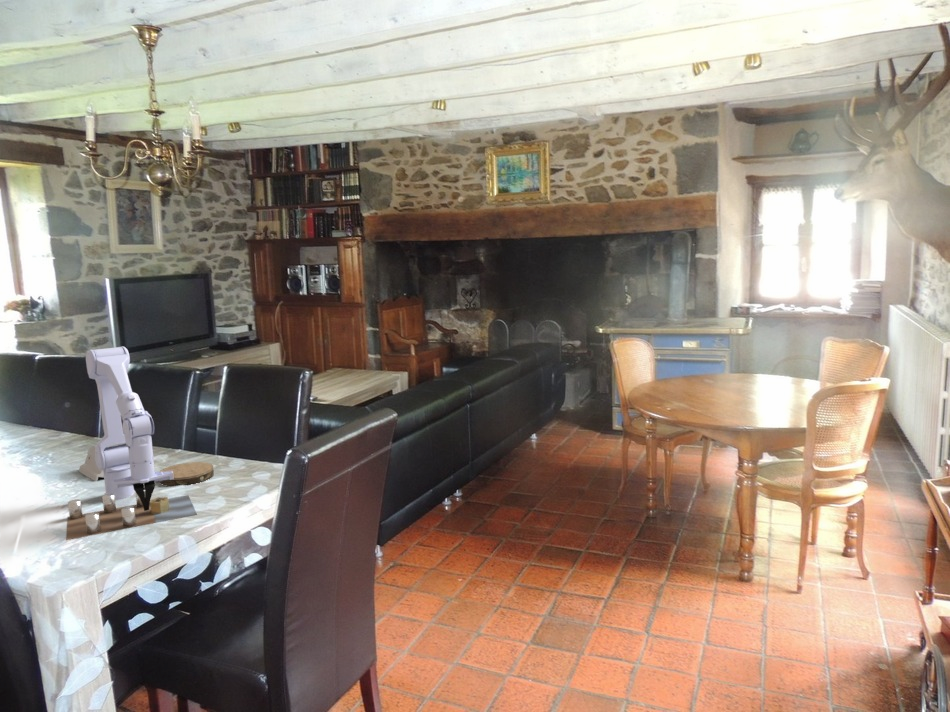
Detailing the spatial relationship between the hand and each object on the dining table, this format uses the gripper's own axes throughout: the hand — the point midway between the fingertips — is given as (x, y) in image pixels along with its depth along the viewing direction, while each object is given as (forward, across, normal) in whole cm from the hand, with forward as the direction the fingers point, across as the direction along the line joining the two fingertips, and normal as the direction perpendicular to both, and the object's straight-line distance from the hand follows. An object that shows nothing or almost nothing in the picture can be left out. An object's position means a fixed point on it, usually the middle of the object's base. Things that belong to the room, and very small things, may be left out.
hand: (146, 509), depth 183 cm
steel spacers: (+2, -8, 0) cm, 9 cm away
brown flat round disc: (+2, +13, +29) cm, 32 cm away
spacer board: (+2, -4, 0) cm, 4 cm away
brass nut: (+1, +3, 0) cm, 3 cm away
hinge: (+2, -10, +51) cm, 52 cm away
